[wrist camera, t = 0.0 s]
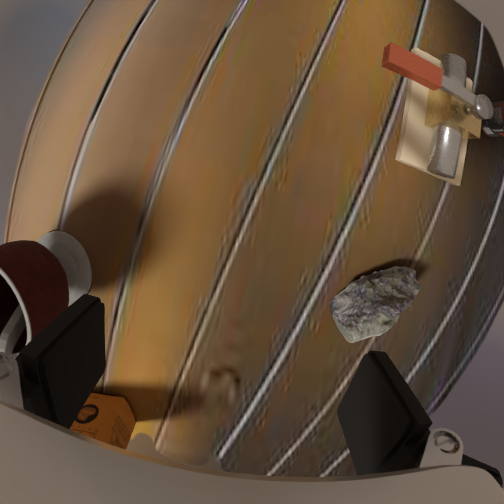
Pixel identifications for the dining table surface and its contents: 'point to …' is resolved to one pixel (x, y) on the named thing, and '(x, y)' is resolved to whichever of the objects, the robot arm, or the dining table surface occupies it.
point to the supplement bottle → (494, 121)
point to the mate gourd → (38, 285)
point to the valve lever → (433, 79)
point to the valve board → (422, 128)
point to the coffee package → (106, 420)
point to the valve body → (449, 120)
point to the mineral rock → (374, 302)
